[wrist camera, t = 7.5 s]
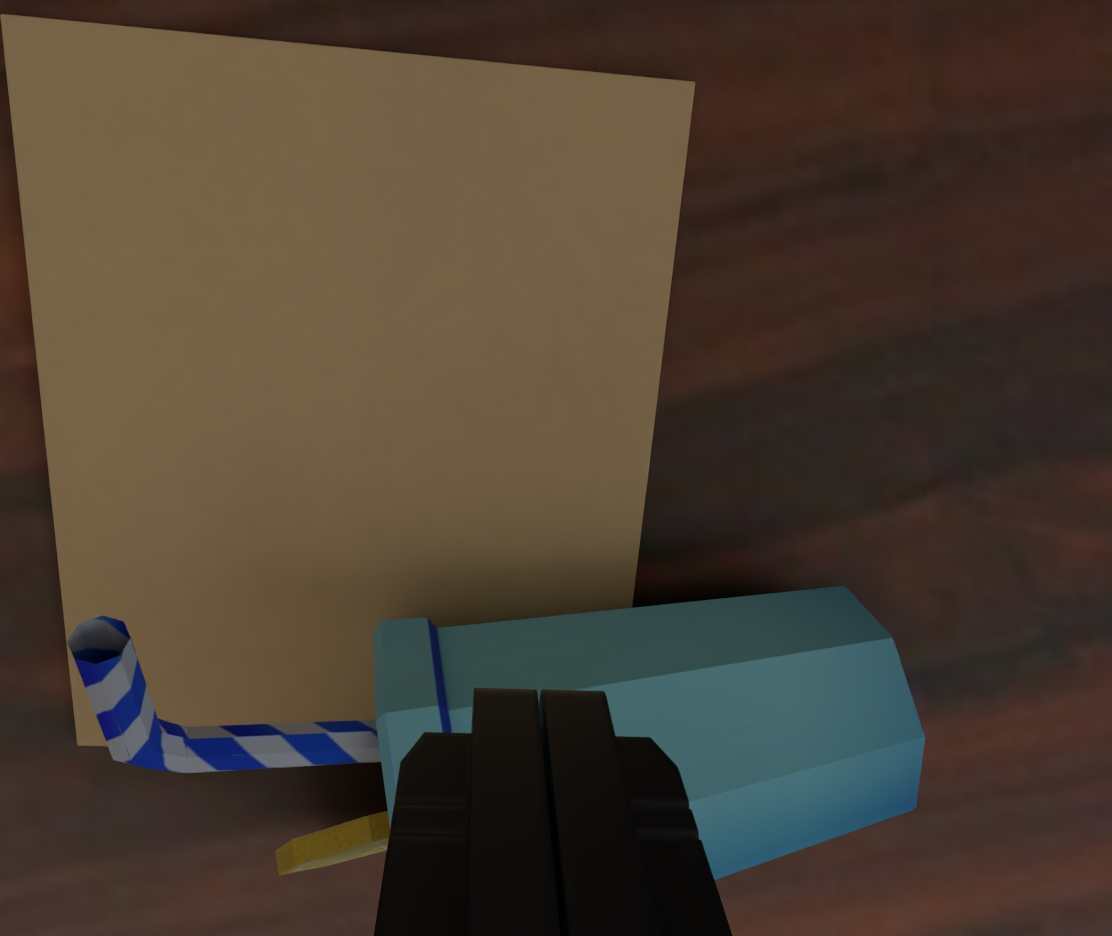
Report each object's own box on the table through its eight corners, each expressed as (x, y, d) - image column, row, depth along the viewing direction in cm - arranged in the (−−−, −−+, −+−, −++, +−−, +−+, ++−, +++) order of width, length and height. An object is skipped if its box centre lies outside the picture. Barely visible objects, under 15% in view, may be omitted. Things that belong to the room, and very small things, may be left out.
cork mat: (692, 82, 19) (695, 81, 18) (612, 752, 24) (614, 759, 24) (7, 16, 17) (-2, 13, 17) (81, 738, 23) (76, 745, 22)
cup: (876, 328, 17) (63, 452, 15) (1135, 681, 12) (-41, 947, 10) (754, 677, 27) (267, 779, 25) (866, 944, 22) (268, 1101, 20)
